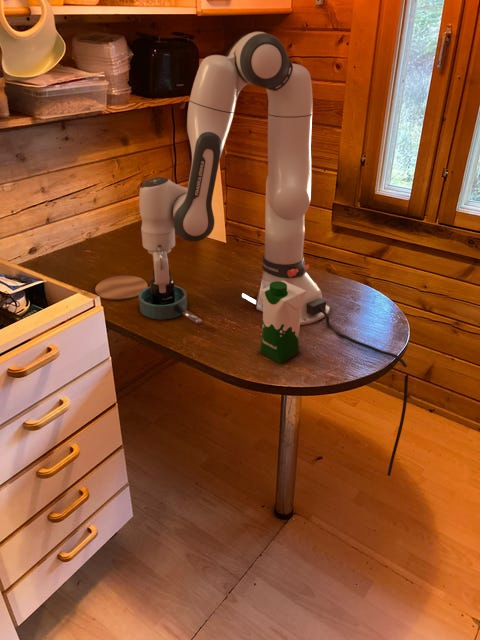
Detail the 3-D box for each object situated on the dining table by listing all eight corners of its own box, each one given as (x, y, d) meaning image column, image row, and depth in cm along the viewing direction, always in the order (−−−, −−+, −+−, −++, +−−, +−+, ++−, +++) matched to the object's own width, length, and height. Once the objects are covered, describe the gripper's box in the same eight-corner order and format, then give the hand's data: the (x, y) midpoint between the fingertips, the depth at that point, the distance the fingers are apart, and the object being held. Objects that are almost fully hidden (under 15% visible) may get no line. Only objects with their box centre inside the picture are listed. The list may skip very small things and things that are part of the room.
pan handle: (203, 325, 137) (203, 319, 136) (197, 328, 135) (197, 321, 134) (177, 308, 144) (177, 302, 143) (172, 310, 143) (171, 304, 142)
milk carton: (254, 352, 130) (257, 281, 120) (278, 339, 135) (283, 270, 125) (280, 367, 124) (285, 294, 114) (304, 353, 130) (311, 282, 120)
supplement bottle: (168, 315, 145) (165, 276, 139) (147, 310, 147) (143, 272, 141) (179, 304, 150) (177, 267, 144) (159, 300, 152) (156, 263, 146)
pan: (196, 310, 148) (195, 296, 146) (156, 325, 140) (155, 311, 138) (170, 293, 157) (169, 280, 155) (131, 306, 149) (129, 293, 147)
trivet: (157, 289, 159) (157, 288, 158) (111, 305, 150) (110, 303, 149) (131, 272, 169) (131, 271, 169) (86, 286, 160) (86, 284, 160)
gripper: (173, 253, 130) (175, 301, 137) (168, 225, 147) (170, 269, 154) (148, 255, 129) (151, 303, 136) (145, 226, 146) (149, 270, 153)
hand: (161, 285), depth 145 cm, fingers closed on supplement bottle, 7 cm apart
